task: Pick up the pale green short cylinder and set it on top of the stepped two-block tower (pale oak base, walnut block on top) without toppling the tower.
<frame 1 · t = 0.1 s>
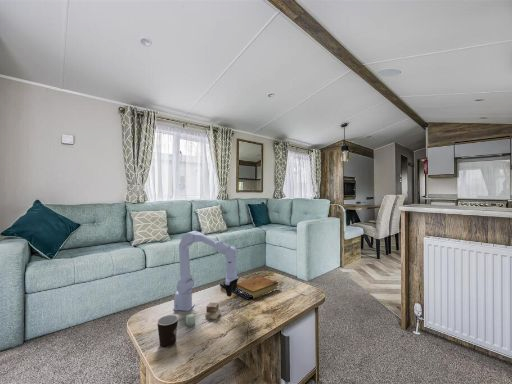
hand: (231, 293, 131), 10 cm above the table, fingers open, 7 cm apart
pale green short cylinder: (190, 323, 119), on the table
coffee mug: (170, 341, 104), on the table
diary: (256, 291, 161), on the table
oak base block: (212, 316, 127), on the table, touching walnut top block
walnut top block: (212, 310, 127), point 3 cm above the table, touching oak base block
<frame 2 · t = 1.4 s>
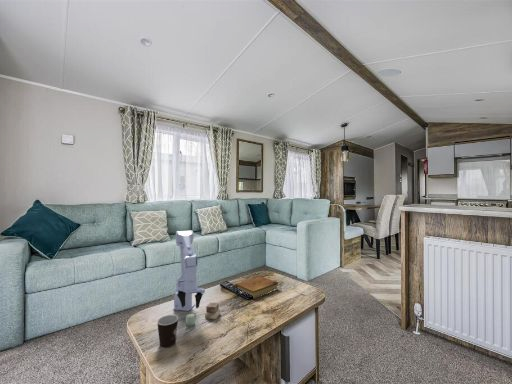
hand: (190, 307, 119), 8 cm above the table, fingers open, 7 cm apart
nothing on the table moved.
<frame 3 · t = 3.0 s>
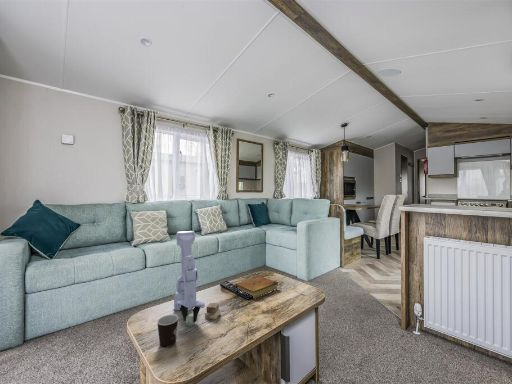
hand: (190, 321, 119), 1 cm above the table, fingers closed on pale green short cylinder, 4 cm apart
pale green short cylinder: (190, 323, 119), on the table, touching gripper
everything else where it was.
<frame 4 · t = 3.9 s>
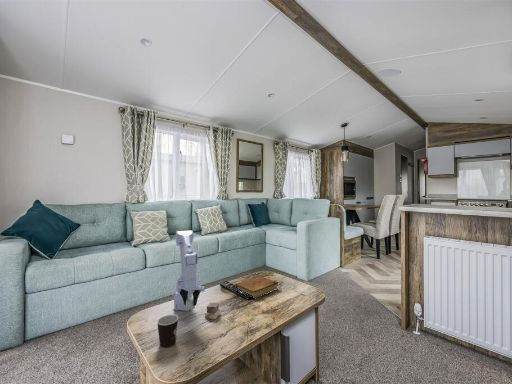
hand: (190, 304, 119), 9 cm above the table, fingers closed on pale green short cylinder, 4 cm apart
pale green short cylinder: (190, 307, 119), point 8 cm above the table, touching gripper
everything else where it was.
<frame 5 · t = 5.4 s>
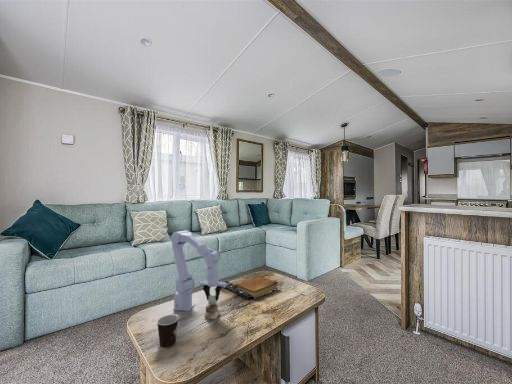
hand: (212, 299, 127), 8 cm above the table, fingers closed on pale green short cylinder, 4 cm apart
pale green short cylinder: (212, 302, 127), point 7 cm above the table, touching gripper
oak base block: (212, 316, 127), on the table
walnut top block: (211, 310, 127), point 3 cm above the table
everything else where it was.
when the fingers open (8 cm above the table, at t = 6.0 s): pale green short cylinder drops 1 cm, resting on walnut top block.
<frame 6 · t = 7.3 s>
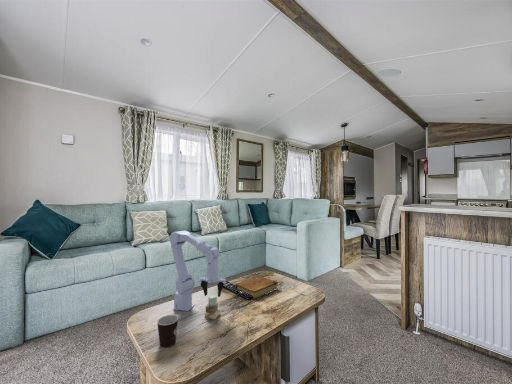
hand: (212, 295, 128), 10 cm above the table, fingers open, 7 cm apart
pale green short cylinder: (212, 304, 127), point 6 cm above the table, touching walnut top block
oak base block: (212, 316, 127), on the table, touching walnut top block
walnut top block: (211, 310, 127), point 3 cm above the table, touching oak base block, pale green short cylinder
everything else where it was.
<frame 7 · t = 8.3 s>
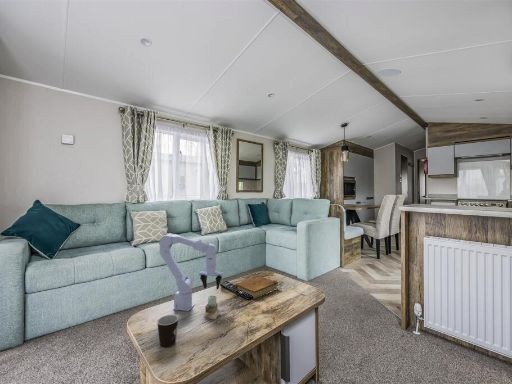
hand: (211, 288, 138), 10 cm above the table, fingers open, 7 cm apart
nothing on the table moved.
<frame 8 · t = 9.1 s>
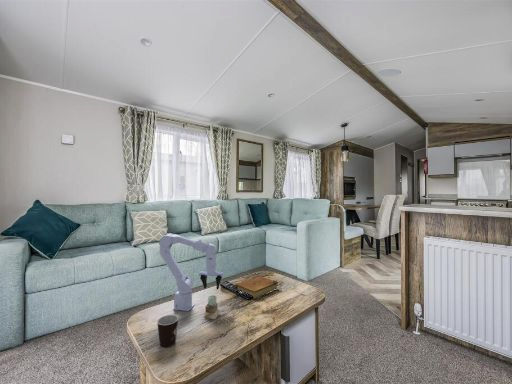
hand: (211, 288, 138), 10 cm above the table, fingers open, 7 cm apart
nothing on the table moved.
at the end: pale green short cylinder 0.4 cm off-centre on the walnut top block, point 3.0 cm above the walnut top block's base; walnut top block tilted 0°; the gripper is holding nothing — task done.
